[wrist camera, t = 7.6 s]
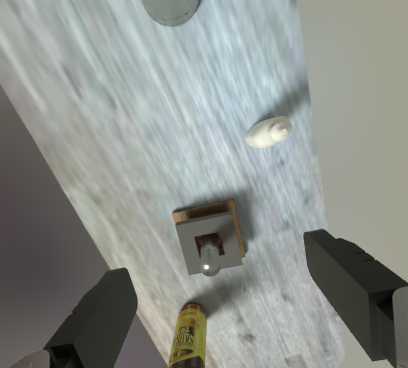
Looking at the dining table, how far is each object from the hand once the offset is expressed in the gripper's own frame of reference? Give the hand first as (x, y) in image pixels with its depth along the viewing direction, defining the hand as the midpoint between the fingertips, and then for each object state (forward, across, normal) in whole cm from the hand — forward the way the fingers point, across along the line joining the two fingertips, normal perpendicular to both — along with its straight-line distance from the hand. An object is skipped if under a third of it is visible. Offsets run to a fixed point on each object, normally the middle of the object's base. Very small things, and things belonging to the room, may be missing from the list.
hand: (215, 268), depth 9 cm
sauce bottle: (+30, +11, +31) cm, 45 cm away
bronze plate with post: (+30, +3, +13) cm, 33 cm away
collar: (+27, +3, +13) cm, 30 cm away
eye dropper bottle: (+30, -10, -4) cm, 32 cm away
